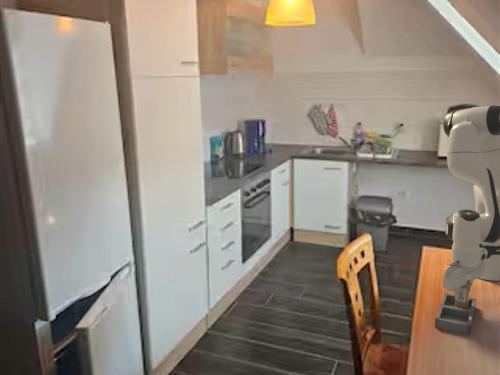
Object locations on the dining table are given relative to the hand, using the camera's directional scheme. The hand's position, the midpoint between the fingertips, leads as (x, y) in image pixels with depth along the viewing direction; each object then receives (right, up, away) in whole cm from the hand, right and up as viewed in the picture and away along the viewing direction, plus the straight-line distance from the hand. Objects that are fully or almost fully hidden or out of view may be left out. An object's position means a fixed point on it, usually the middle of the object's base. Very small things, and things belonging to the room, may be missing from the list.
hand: (462, 294), depth 165 cm
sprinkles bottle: (0, -5, +1) cm, 5 cm away
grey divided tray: (-3, -7, -2) cm, 8 cm away
